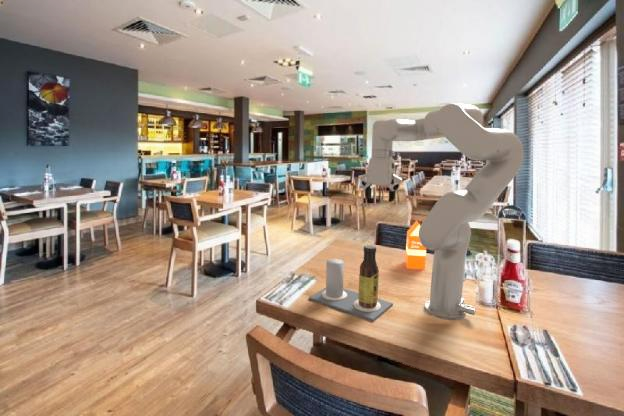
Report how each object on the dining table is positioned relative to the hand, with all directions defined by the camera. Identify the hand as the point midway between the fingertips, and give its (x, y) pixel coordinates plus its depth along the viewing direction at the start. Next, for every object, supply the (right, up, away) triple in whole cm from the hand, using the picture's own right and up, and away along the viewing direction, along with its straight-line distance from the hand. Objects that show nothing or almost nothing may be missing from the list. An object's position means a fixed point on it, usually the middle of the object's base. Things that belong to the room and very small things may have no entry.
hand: (379, 199), depth 135 cm
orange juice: (+20, -29, +23) cm, 42 cm away
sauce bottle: (-7, -35, -18) cm, 41 cm away
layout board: (-13, -35, -14) cm, 40 cm away
